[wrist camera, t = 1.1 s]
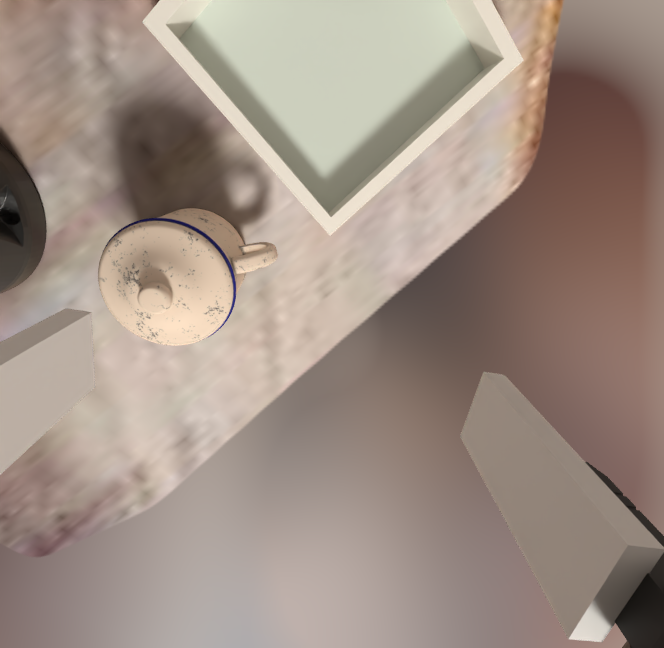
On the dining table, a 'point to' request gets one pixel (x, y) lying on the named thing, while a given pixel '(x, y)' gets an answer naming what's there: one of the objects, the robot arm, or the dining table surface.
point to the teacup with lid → (177, 274)
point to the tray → (338, 82)
